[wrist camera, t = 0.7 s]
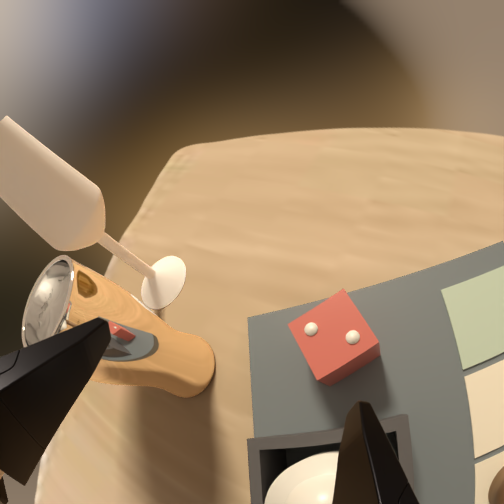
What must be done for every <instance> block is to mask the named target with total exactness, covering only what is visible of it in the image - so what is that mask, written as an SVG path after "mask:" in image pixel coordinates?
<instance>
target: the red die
mask: <svg viewBox="0 0 504 504" xmlns="http://www.w3.org/2000/svg"><path fill="white" fill-rule="evenodd" d="M288 326H289V328H290V330H291V332H292V334H293V336H294V338H295V339H296V341H297V343H298V345H299V347H300V349H301V351H302V353H303V355H304V357H305V358H306V360H307V362H308V364H309V366H310V368H311V370H312V372H313V374H314V375H315V377H316V379H317V381H319V382H322V383H324V384H326V385H328V386H332V385H333V384H335V383H337V382H339V381H340V380H342V379H344V378H345V377H347V376H349V375H350V374H352V373H354V372H355V371H357V370H358V369H360V368H362V367H363V366H365V365H366V364H368V363H369V362H371V361H372V360H374V359H375V358H377V357H378V356H380V355H381V354H380V345H379V341H378V339H377V338H376V336H375V335H374V333H373V332H372V330H371V329H370V327H369V326H368V324H367V322H366V321H365V319H364V318H363V316H362V315H361V313H360V312H359V310H358V309H357V307H356V306H355V305H354V303H353V302H352V300H351V299H350V297H349V296H348V294H347V293H346V291H345V290H344V289H342V290H341V291H339V292H338V293H336V294H335V295H333V296H332V297H330V298H328V299H327V300H325V301H324V302H322V303H321V304H319V305H318V306H316V307H314V308H313V309H311V310H310V311H308V312H307V313H305V314H303V315H302V316H300V317H298V318H297V319H295V320H294V321H292V322H290V323H289V324H288Z"/></svg>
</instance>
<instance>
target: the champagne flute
mask: <svg viewBox="0 0 504 504" xmlns="http://www.w3.org/2000/svg"><path fill="white" fill-rule="evenodd" d="M0 197H1V198H2V199H3V200H4V201H5V202H6V203H7V204H8V205H9V206H10V207H11V208H12V209H13V210H14V211H15V212H16V213H17V214H18V215H19V216H20V217H21V218H22V219H23V220H24V221H25V222H26V223H27V224H28V225H29V226H30V227H31V228H32V229H33V230H34V231H35V232H37V233H38V234H39V235H40V236H41V237H42V238H43V239H44V240H45V241H47V242H48V243H49V244H50V245H51V246H52V247H53V248H55V249H57V250H59V251H73V250H78V249H81V248H85V247H88V246H91V245H93V244H95V243H96V242H98V243H99V244H100V245H102V246H103V247H104V248H106V249H107V250H109V251H110V252H111V253H113V254H114V255H115V256H117V257H118V258H120V259H121V260H122V261H124V262H125V263H127V264H128V265H129V266H131V267H132V268H134V269H135V270H137V271H138V272H140V273H141V274H142V275H144V276H145V278H144V281H143V284H142V289H141V295H142V300H143V302H144V304H145V305H146V306H147V307H149V308H151V309H161V308H164V307H165V306H167V305H169V304H170V303H171V302H173V301H174V299H175V298H176V297H177V296H178V294H179V293H180V291H181V289H182V287H183V285H184V282H185V278H186V268H185V265H184V263H183V261H182V260H181V259H180V258H178V257H175V256H168V257H165V258H162V259H161V260H159V261H157V262H156V263H155V264H154V265H153V266H152V267H150V266H148V265H147V264H146V263H144V262H143V261H142V260H140V259H139V258H138V257H136V256H135V255H134V254H132V253H131V252H130V251H128V250H127V249H126V248H124V247H123V246H122V245H120V244H119V243H118V242H116V241H115V240H114V239H113V238H111V237H110V236H109V235H107V234H106V233H105V232H104V229H105V205H104V200H103V196H102V193H101V191H100V189H99V188H98V186H96V185H95V184H94V183H93V182H91V181H90V180H88V179H87V178H86V177H85V176H83V175H82V174H81V173H79V172H78V171H77V170H75V169H74V168H73V167H71V166H70V165H69V164H67V163H66V162H65V161H63V160H62V159H61V158H60V157H58V156H57V155H56V154H54V153H53V152H52V151H51V150H49V149H48V148H47V147H45V146H44V145H43V144H42V143H40V142H39V141H38V140H36V139H35V138H34V137H33V136H32V135H30V134H29V133H28V132H27V131H25V130H24V129H23V128H22V127H20V126H19V125H18V124H17V123H15V122H14V121H13V120H12V119H10V118H9V117H8V116H5V117H4V118H3V119H2V120H1V121H0Z"/></svg>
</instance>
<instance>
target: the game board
mask: <svg viewBox="0 0 504 504" xmlns="http://www.w3.org/2000/svg"><path fill="white" fill-rule="evenodd" d="M347 294H348V296H349V297H350V299H351V300H352V302H353V303H354V305H355V306H356V307H357V309H358V310H359V312H360V313H361V315H362V316H363V318H364V319H365V321H366V322H367V324H368V326H369V327H370V329H371V330H372V332H373V333H374V335H375V336H376V338H377V339H378V341H379V345H380V354H381V355H380V356H378V357H377V358H375V359H374V360H372V361H371V362H369V363H368V364H366V365H365V366H363V367H362V368H360V369H358V370H357V371H355V372H354V373H352V374H350V375H349V376H347V377H345V378H344V379H342V380H340V381H339V382H337V383H335V384H333V385H332V386H328V385H326V384H324V383H322V382H319V381H317V379H316V377H315V375H314V374H313V372H312V370H311V368H310V366H309V364H308V362H307V360H306V358H305V357H304V355H303V353H302V351H301V349H300V347H299V345H298V343H297V341H296V339H295V338H294V336H293V334H292V332H291V330H290V328H289V326H288V324H289V323H290V322H292V321H294V320H295V319H297V318H298V317H300V316H302V315H303V314H305V313H307V312H308V311H310V310H311V309H313V308H314V307H316V306H318V305H319V304H321V303H322V302H324V301H325V300H327V299H328V298H327V299H323V300H319V301H315V302H311V303H307V304H303V305H299V306H295V307H291V308H287V309H283V310H279V311H275V312H270V313H266V314H262V315H257V316H253V317H248V335H249V353H250V372H251V389H252V407H253V424H254V438H250V439H247V446H248V463H249V479H250V494H251V504H265V498H266V495H267V492H268V490H269V488H270V486H271V485H272V483H273V482H274V480H275V479H276V478H277V477H278V476H279V475H280V474H281V473H282V472H283V471H285V470H286V469H287V468H289V467H290V466H292V465H294V464H296V463H298V462H300V461H302V460H304V459H306V458H307V457H310V456H312V455H314V454H318V453H321V452H325V451H332V450H339V449H340V445H341V440H342V435H343V430H344V425H345V420H346V416H347V413H348V412H349V410H350V409H351V408H352V407H353V406H354V404H355V403H356V402H357V401H358V400H362V401H368V402H369V403H370V404H371V406H372V407H373V409H374V411H375V413H376V415H377V417H378V419H379V421H380V423H381V425H382V427H383V429H384V431H385V433H386V435H387V437H388V439H389V441H390V443H391V445H392V447H393V450H394V452H395V454H396V456H397V458H398V460H399V462H400V464H401V466H402V468H403V470H404V472H405V474H406V477H407V479H408V482H409V483H410V485H411V487H412V489H413V491H414V493H415V495H416V497H417V499H418V501H419V503H420V504H490V503H489V500H488V492H489V488H490V485H491V483H492V481H493V479H494V477H495V476H496V474H497V473H498V472H499V471H500V469H501V468H502V467H503V466H504V243H503V241H501V242H499V243H496V244H494V245H491V246H489V247H486V248H483V249H481V250H478V251H475V252H473V253H470V254H467V255H465V256H462V257H459V258H456V259H453V260H451V261H448V262H445V263H442V264H439V265H436V266H433V267H430V268H427V269H424V270H421V271H418V272H415V273H412V274H409V275H406V276H402V277H399V278H396V279H393V280H390V281H386V282H383V283H380V284H376V285H373V286H370V287H366V288H363V289H359V290H356V291H352V292H349V293H347Z"/></svg>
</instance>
